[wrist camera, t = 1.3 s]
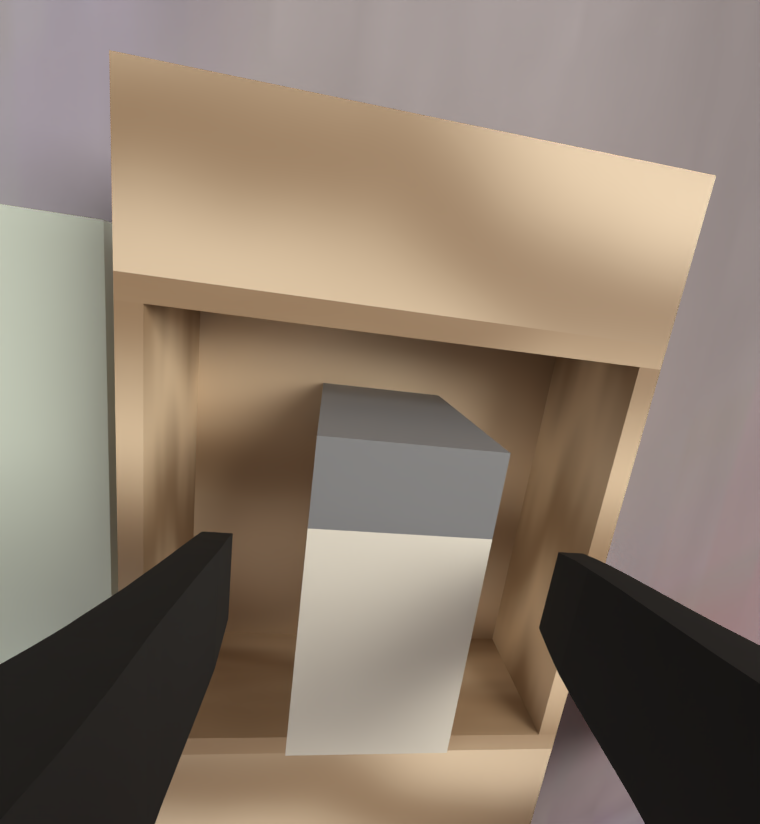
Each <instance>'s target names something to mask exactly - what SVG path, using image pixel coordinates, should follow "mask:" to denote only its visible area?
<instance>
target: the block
mask: <svg viewBox="0 0 760 824" xmlns="http://www.w3.org/2000/svg"><path fill="white" fill-rule="evenodd" d="M510 454H511V453H510V452H509V451H507V450H506V449H505V448H504V447H502V446H501V445H500V444H499V443H497V442H496V441H495V440H494V439H492V438H491V437H490V436H489V435H487V434H486V433H485V432H484V431H482V430H481V429H480V428H479V427H477V426H476V425H475V424H474V423H472V422H471V421H470V420H469V419H467V418H466V417H465V416H464V415H462V414H461V413H460V412H459V411H457V410H456V409H455V408H454V407H452V406H451V405H450V404H449V403H447V402H446V401H445V400H444V399H442V398H441V397H440V396H439V395H431V394H421V393H412V392H403V391H394V390H385V389H376V388H366V387H357V386H348V385H339V384H330V383H323V390H322V399H321V407H320V415H319V423H318V431H317V440H316V450H315V461H314V471H313V481H312V491H311V501H310V511H309V521H308V531H307V541H306V551H305V561H304V571H303V581H302V591H301V601H300V611H299V621H298V631H297V641H296V651H295V661H294V671H293V682H292V692H291V702H290V712H289V722H288V732H287V742H286V752H285V756H294V755H353V754H411V753H447V749H448V745H449V740H450V735H451V731H452V726H453V721H454V717H455V712H456V707H457V703H458V698H459V693H460V689H461V684H462V679H463V674H464V670H465V665H466V660H467V656H468V651H469V646H470V642H471V637H472V632H473V628H474V623H475V618H476V613H477V609H478V604H479V599H480V595H481V590H482V585H483V581H484V576H485V571H486V567H487V562H488V557H489V553H490V548H491V543H492V538H493V534H494V529H495V524H496V520H497V515H498V510H499V506H500V501H501V496H502V492H503V487H504V482H505V478H506V473H507V468H508V463H509V459H510Z"/></svg>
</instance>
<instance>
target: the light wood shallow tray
mask: <svg viewBox="0 0 760 824" xmlns="http://www.w3.org/2000/svg"><path fill="white" fill-rule="evenodd" d="M109 57H110V118H111V179H112V240H113V301H114V362H115V423H116V484H117V545H118V592H119V591H120V590H122V589H123V588H125V587H126V586H128V585H129V584H130V583H132V582H133V581H135V580H136V579H137V578H139V577H140V576H142V575H143V574H144V573H146V572H147V571H148V570H150V569H151V568H153V567H154V566H155V565H157V564H158V563H160V562H161V561H162V560H164V559H165V558H166V557H168V556H169V555H170V554H172V553H173V552H174V551H176V550H177V549H178V548H180V547H181V546H183V545H184V544H185V543H187V542H188V541H189V540H191V539H192V538H193V537H195V536H196V535H198V534H199V533H200V532H220V533H233V539H232V558H231V577H230V596H229V614H228V622H227V625H226V629H225V633H224V637H223V640H222V644H221V648H220V652H219V655H218V659H217V662H216V666H215V669H214V672H213V675H212V677H211V680H210V683H209V685H208V688H207V690H206V693H205V696H204V698H203V701H202V703H201V706H200V709H199V711H198V714H197V716H196V719H195V721H194V724H193V727H192V729H191V732H190V734H189V737H188V739H187V742H186V744H185V747H184V750H183V752H182V755H181V757H180V760H179V762H178V765H177V767H176V770H175V773H174V775H173V778H172V780H171V783H170V785H169V788H168V790H167V793H166V796H165V798H164V801H163V803H162V806H161V808H160V811H159V814H158V817H157V819H156V822H155V824H531V820H532V817H533V813H534V810H535V806H536V803H537V799H538V796H539V792H540V789H541V785H542V782H543V778H544V775H545V771H546V768H547V764H548V761H549V757H550V754H551V750H552V747H553V743H554V740H555V736H556V733H557V729H558V726H559V722H560V719H561V715H562V712H563V708H564V705H565V701H566V698H567V694H568V690H567V688H566V686H565V684H564V683H563V681H562V679H561V677H560V676H559V674H558V671H557V669H556V667H555V665H554V663H553V660H552V658H551V656H550V654H549V652H548V649H547V647H546V644H545V642H544V639H543V637H542V635H541V632H540V630H539V625H540V622H541V618H542V614H543V610H544V606H545V602H546V598H547V594H548V591H549V587H550V583H551V579H552V575H553V571H554V567H555V563H556V560H557V556H558V552H566V553H583V554H586V555H588V556H590V557H593V558H595V559H597V560H599V561H601V562H603V563H605V562H606V558H607V555H608V551H609V548H610V544H611V541H612V537H613V534H614V530H615V527H616V523H617V520H618V516H619V513H620V509H621V506H622V502H623V499H624V496H625V492H626V489H627V485H628V482H629V478H630V475H631V471H632V468H633V464H634V461H635V457H636V454H637V450H638V447H639V443H640V440H641V436H642V433H643V429H644V426H645V422H646V419H647V415H648V412H649V408H650V405H651V401H652V398H653V394H654V391H655V387H656V384H657V380H658V377H659V373H660V370H661V366H662V363H663V359H664V356H665V352H666V349H667V345H668V342H669V338H670V335H671V331H672V328H673V325H674V321H675V318H676V314H677V311H678V307H679V304H680V300H681V297H682V293H683V290H684V286H685V283H686V279H687V276H688V272H689V269H690V265H691V262H692V258H693V255H694V251H695V248H696V244H697V241H698V237H699V234H700V230H701V227H702V223H703V220H704V216H705V213H706V209H707V206H708V202H709V199H710V195H711V192H712V188H713V185H714V181H715V178H716V176H715V175H710V174H706V173H701V172H696V171H691V170H686V169H681V168H676V167H672V166H667V165H662V164H657V163H652V162H647V161H643V160H638V159H633V158H628V157H623V156H618V155H614V154H609V153H604V152H599V151H594V150H589V149H585V148H580V147H575V146H570V145H565V144H560V143H556V142H551V141H546V140H541V139H536V138H531V137H526V136H522V135H517V134H512V133H507V132H502V131H497V130H493V129H488V128H483V127H478V126H473V125H468V124H464V123H459V122H454V121H449V120H444V119H439V118H435V117H430V116H425V115H420V114H415V113H410V112H406V111H401V110H396V109H391V108H386V107H381V106H376V105H372V104H367V103H362V102H357V101H352V100H347V99H343V98H338V97H333V96H328V95H323V94H318V93H314V92H309V91H304V90H299V89H294V88H289V87H285V86H280V85H275V84H270V83H265V82H260V81H256V80H251V79H246V78H241V77H236V76H231V75H226V74H222V73H217V72H212V71H207V70H202V69H197V68H193V67H188V66H183V65H178V64H173V63H168V62H164V61H159V60H154V59H149V58H144V57H139V56H135V55H130V54H125V53H120V52H115V51H110V50H109ZM323 383H330V384H339V385H348V386H357V387H366V388H376V389H385V390H394V391H403V392H412V393H421V394H431V395H439V396H440V397H441V398H442V399H444V400H445V401H446V402H447V403H449V404H450V405H451V406H452V407H454V408H455V409H456V410H457V411H459V412H460V413H461V414H462V415H464V416H465V417H466V418H467V419H469V420H470V421H471V422H472V423H474V424H475V425H476V426H477V427H479V428H480V429H481V430H482V431H484V432H485V433H486V434H487V435H489V436H490V437H491V438H492V439H494V440H495V441H496V442H497V443H499V444H500V445H501V446H502V447H504V448H505V449H506V450H507V451H509V452H510V453H511V454H510V459H509V463H508V468H507V473H506V478H505V482H504V487H503V492H502V496H501V501H500V506H499V510H498V515H497V520H496V524H495V529H494V534H493V538H492V543H491V548H490V553H489V557H488V562H487V567H486V571H485V576H484V581H483V585H482V590H481V595H480V599H479V604H478V609H477V613H476V618H475V623H474V628H473V632H472V637H471V642H470V646H469V651H468V656H467V660H466V665H465V670H464V674H463V679H462V684H461V689H460V693H459V698H458V703H457V707H456V712H455V717H454V721H453V726H452V731H451V735H450V740H449V745H448V749H447V753H411V754H353V755H294V756H285V752H286V742H287V732H288V722H289V712H290V702H291V692H292V682H293V671H294V661H295V651H296V641H297V631H298V621H299V611H300V601H301V591H302V581H303V571H304V561H305V551H306V541H307V531H308V521H309V511H310V501H311V491H312V481H313V471H314V461H315V450H316V440H317V431H318V423H319V415H320V407H321V399H322V390H323Z"/></svg>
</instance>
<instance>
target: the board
mask: <svg viewBox="0 0 760 824" xmlns="http://www.w3.org/2000/svg"><path fill="white" fill-rule="evenodd" d="M117 592H118V545H117V484H116V423H115V362H114V301H113V240H112V223H110V222H107V221H105V220H101V219H94V218H87V217H81V216H74V215H68V214H61V213H55V212H48V211H42V210H35V209H29V208H22V207H15V206H9V205H2V204H0V664H1V663H3V662H5V661H7V660H8V659H10V658H12V657H14V656H16V655H17V654H19V653H21V652H23V651H24V650H26V649H28V648H30V647H31V646H33V645H35V644H37V643H38V642H40V641H42V640H43V639H45V638H47V637H48V636H50V635H52V634H53V633H55V632H57V631H58V630H60V629H62V628H63V627H65V626H67V625H68V624H70V623H71V622H73V621H74V620H76V619H77V618H79V617H80V616H82V615H83V614H85V613H86V612H88V611H90V610H91V609H93V608H94V607H96V606H97V605H99V604H100V603H102V602H103V601H105V600H106V599H108V598H109V597H111V596H113V595H114V594H116V593H117Z"/></svg>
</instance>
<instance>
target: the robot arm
mask: <svg viewBox="0 0 760 824" xmlns="http://www.w3.org/2000/svg"><path fill="white" fill-rule="evenodd" d="M232 539H233V533H220V532H200V533H199V534H198V535H196V536H195V537H193V538H192V539H191V540H189V541H188V542H187V543H185V544H184V545H183V546H181V547H180V548H178V549H177V550H176V551H174V552H173V553H172V554H170V555H169V556H168V557H166V558H165V559H164V560H162V561H161V562H160V563H158V564H157V565H155V566H154V567H153V568H151V569H150V570H148V571H147V572H146V573H144V574H143V575H142V576H140V577H139V578H137V579H136V580H135V581H133V582H132V583H130V584H129V585H128V586H126V587H125V588H123V589H122V590H120V591H119V592H117V593H116V594H114V595H113V596H111V597H109V598H108V599H106V600H105V601H103V602H102V603H100V604H99V605H97V606H96V607H94V608H93V609H91V610H90V611H88V612H86V613H85V614H83V615H82V616H80V617H79V618H77V619H76V620H74V621H73V622H71V623H70V624H68V625H67V626H65V627H63V628H62V629H60V630H58V631H57V632H55V633H53V634H52V635H50V636H48V637H47V638H45V639H43V640H42V641H40V642H38V643H37V644H35V645H33V646H31V647H30V648H28V649H26V650H24V651H23V652H21V653H19V654H17V655H16V656H14V657H12V658H10V659H8V660H7V661H5V662H3V663H1V664H0V824H155V822H156V819H157V817H158V814H159V811H160V808H161V806H162V803H163V801H164V798H165V796H166V793H167V790H168V788H169V785H170V783H171V780H172V778H173V775H174V773H175V770H176V767H177V765H178V762H179V760H180V757H181V755H182V752H183V750H184V747H185V744H186V742H187V739H188V737H189V734H190V732H191V729H192V727H193V724H194V721H195V719H196V716H197V714H198V711H199V709H200V706H201V703H202V701H203V698H204V696H205V693H206V690H207V688H208V685H209V683H210V680H211V677H212V675H213V672H214V669H215V666H216V662H217V659H218V655H219V652H220V648H221V644H222V640H223V637H224V633H225V629H226V625H227V622H228V614H229V596H230V577H231V558H232ZM539 630H540V632H541V635H542V637H543V639H544V642H545V644H546V647H547V649H548V652H549V654H550V656H551V658H552V660H553V663H554V665H555V667H556V669H557V671H558V674H559V676H560V677H561V679H562V681H563V683H564V684H565V686H566V688H567V690H568V691H569V693H570V695H571V697H572V698H573V700H574V702H575V704H576V705H577V707H578V709H579V710H580V712H581V714H582V716H583V717H584V719H585V721H586V722H587V724H588V726H589V727H590V729H591V731H592V733H593V734H594V736H595V738H596V739H597V741H598V743H599V744H600V746H601V748H602V749H603V751H604V753H605V755H606V756H607V758H608V760H609V761H610V763H611V765H612V766H613V768H614V770H615V771H616V773H617V775H618V777H619V778H620V780H621V782H622V783H623V785H624V787H625V788H626V790H627V792H628V793H629V795H630V797H631V799H632V801H633V802H634V804H635V806H636V808H637V810H638V812H639V813H640V815H641V817H642V819H643V821H644V822H645V824H760V645H758V644H756V643H754V642H752V641H750V640H748V639H746V638H744V637H742V636H740V635H738V634H736V633H734V632H732V631H730V630H728V629H726V628H724V627H722V626H721V625H719V624H717V623H715V622H713V621H711V620H709V619H707V618H706V617H704V616H702V615H700V614H698V613H696V612H694V611H692V610H691V609H689V608H687V607H685V606H683V605H681V604H680V603H678V602H676V601H674V600H672V599H671V598H669V597H667V596H665V595H663V594H661V593H660V592H658V591H656V590H654V589H652V588H650V587H649V586H647V585H645V584H643V583H641V582H640V581H638V580H636V579H634V578H632V577H630V576H629V575H627V574H625V573H623V572H621V571H619V570H617V569H615V568H613V567H611V566H609V565H607V564H605V563H603V562H601V561H599V560H597V559H595V558H593V557H590V556H588V555H586V554H583V553H566V552H558V556H557V560H556V563H555V567H554V571H553V575H552V579H551V583H550V587H549V591H548V594H547V598H546V602H545V606H544V610H543V614H542V618H541V622H540V625H539Z"/></svg>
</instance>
